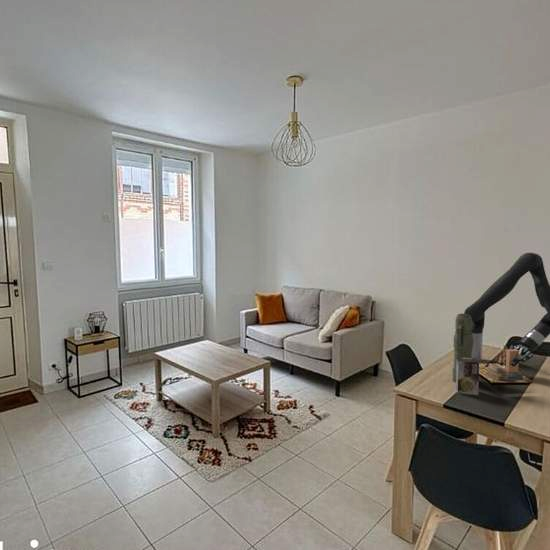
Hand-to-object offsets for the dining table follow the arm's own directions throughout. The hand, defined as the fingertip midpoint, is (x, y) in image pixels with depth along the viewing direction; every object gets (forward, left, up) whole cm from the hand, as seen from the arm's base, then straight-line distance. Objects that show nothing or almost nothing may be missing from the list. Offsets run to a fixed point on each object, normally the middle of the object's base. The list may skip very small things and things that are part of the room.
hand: (508, 363), depth 189 cm
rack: (-1, -1, -8) cm, 8 cm away
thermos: (-21, -13, -8) cm, 26 cm away
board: (+2, +1, -7) cm, 7 cm away
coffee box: (-19, -27, -8) cm, 34 cm away
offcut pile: (-5, -3, -7) cm, 9 cm away
